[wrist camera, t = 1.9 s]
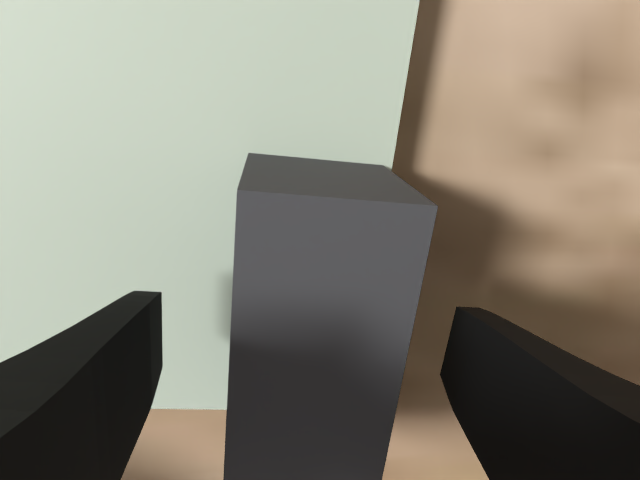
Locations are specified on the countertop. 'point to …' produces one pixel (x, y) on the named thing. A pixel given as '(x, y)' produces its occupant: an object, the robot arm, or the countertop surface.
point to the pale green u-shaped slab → (171, 151)
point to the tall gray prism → (320, 316)
